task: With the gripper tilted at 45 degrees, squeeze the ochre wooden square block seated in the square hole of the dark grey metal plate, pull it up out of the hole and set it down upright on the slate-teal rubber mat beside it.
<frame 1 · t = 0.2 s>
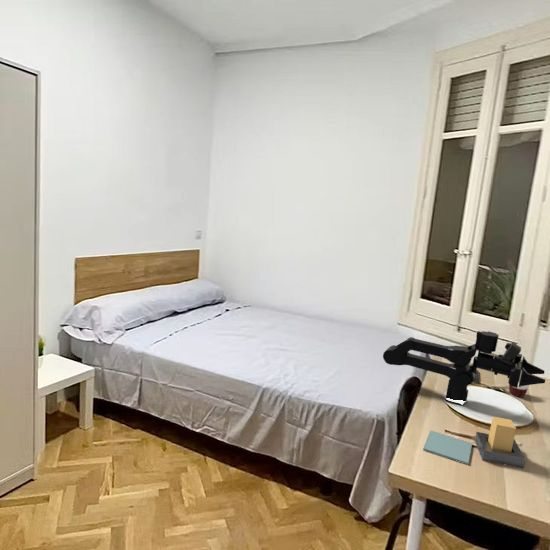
hand: (544, 376, 148), 17 cm above the table, tool horizontal, fingers open, 9 cm apart
square-hole plate: (497, 453, 130), on the table
phone: (468, 376, 188), on the table
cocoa: (516, 395, 173), on the table
ochre square block: (497, 454, 130), resting in square-hole plate
rubber mat: (447, 447, 131), on the table
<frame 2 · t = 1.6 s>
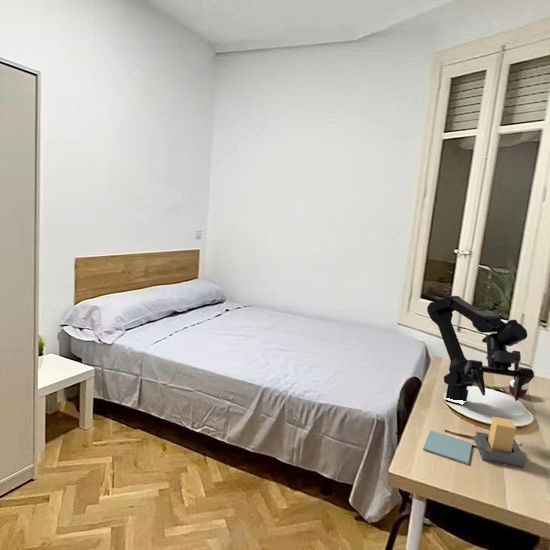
hand: (500, 397, 135), 14 cm above the table, tool tilted 45°, fingers open, 9 cm apart
nothing on the table moved.
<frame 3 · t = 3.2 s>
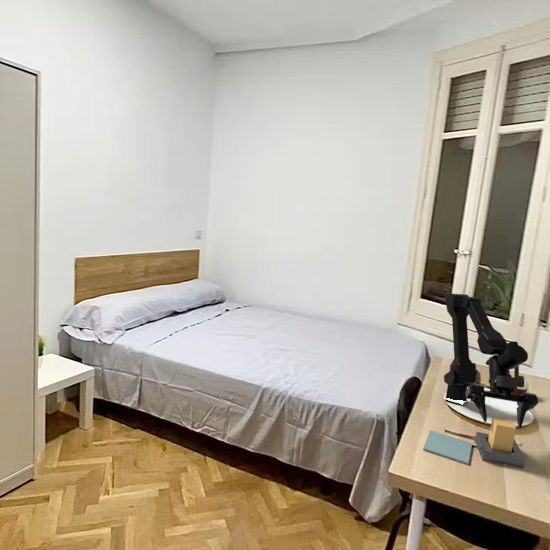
hand: (502, 424, 129), 9 cm above the table, tool tilted 45°, fingers open, 9 cm apart
nothing on the table moved.
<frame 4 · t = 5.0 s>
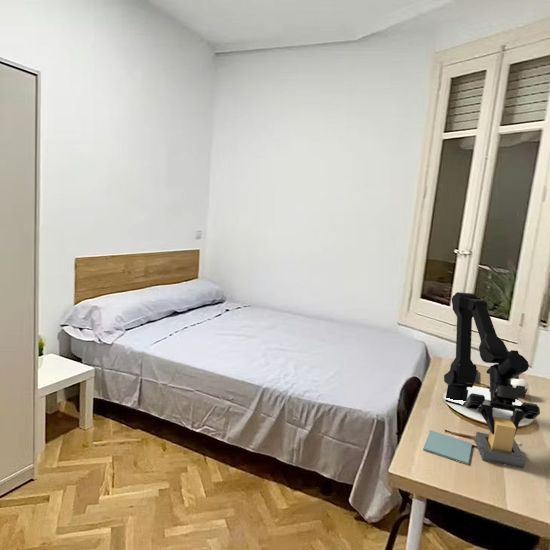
hand: (503, 435, 127), 7 cm above the table, tool tilted 45°, fingers closed on ochre square block, 5 cm apart
ochre square block: (497, 453, 130), resting in square-hole plate, touching gripper
everything else where it was.
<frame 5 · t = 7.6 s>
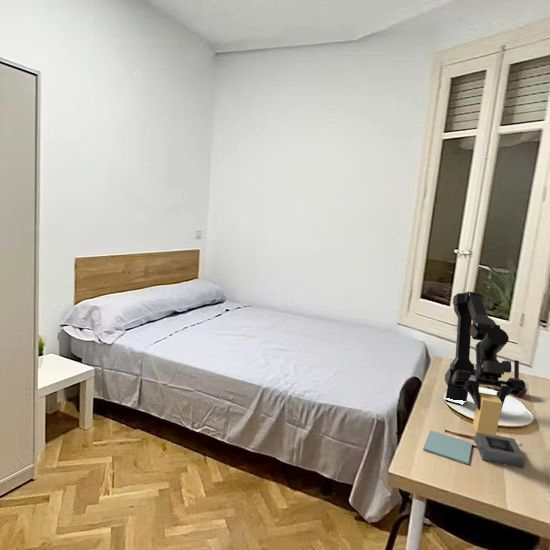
hand: (489, 410, 126), 13 cm above the table, tool tilted 45°, fingers closed on ochre square block, 5 cm apart
ochre square block: (484, 429, 129), point 7 cm above the table, touching gripper
everything else where it was.
when the fingers open (8 cm above the table, at t = 10.4 s): ochre square block drops 1 cm, resting on rubber mat.
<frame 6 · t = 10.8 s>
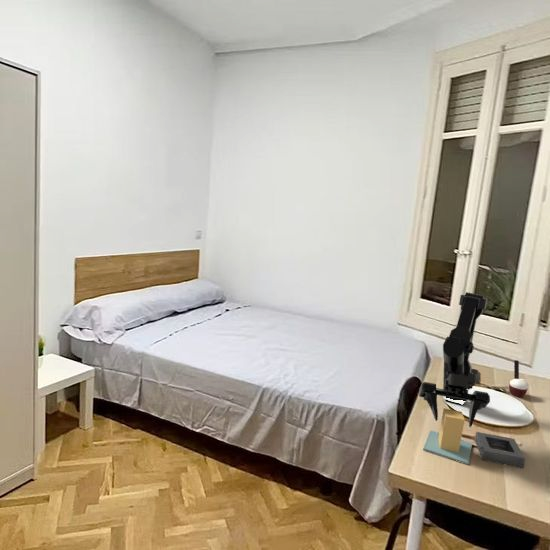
hand: (453, 423, 128), 8 cm above the table, tool tilted 45°, fingers open, 9 cm apart
ochre square block: (448, 445, 130), point 1 cm above the table, touching rubber mat
everything else where it was.
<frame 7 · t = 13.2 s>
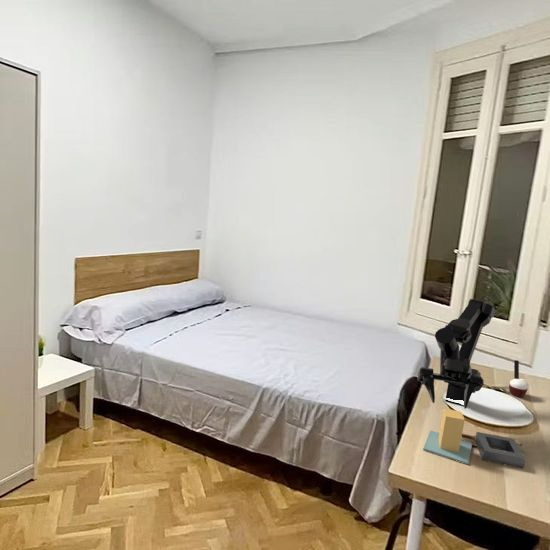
hand: (449, 405, 136), 9 cm above the table, tool tilted 45°, fingers open, 9 cm apart
nothing on the table moved.
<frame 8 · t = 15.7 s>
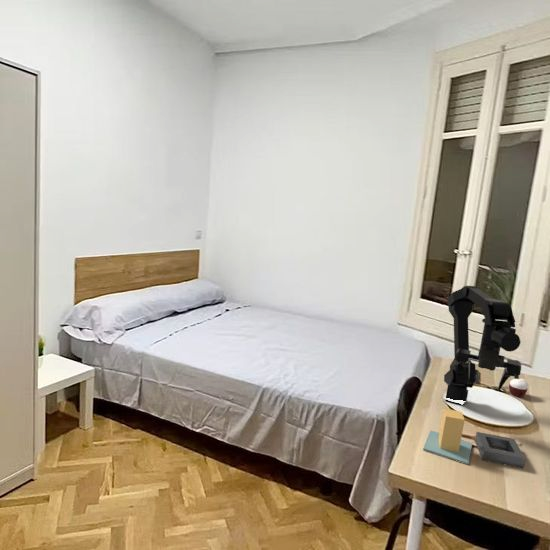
hand: (482, 386, 144), 13 cm above the table, tool pointing down, fingers open, 9 cm apart
nothing on the table moved.
at the end: ochre square block inside the target area on the rubber mat (0.0 cm from its centre), point 0.6 cm above the rubber mat's base; ochre square block tilted 0°; the gripper is holding nothing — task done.
